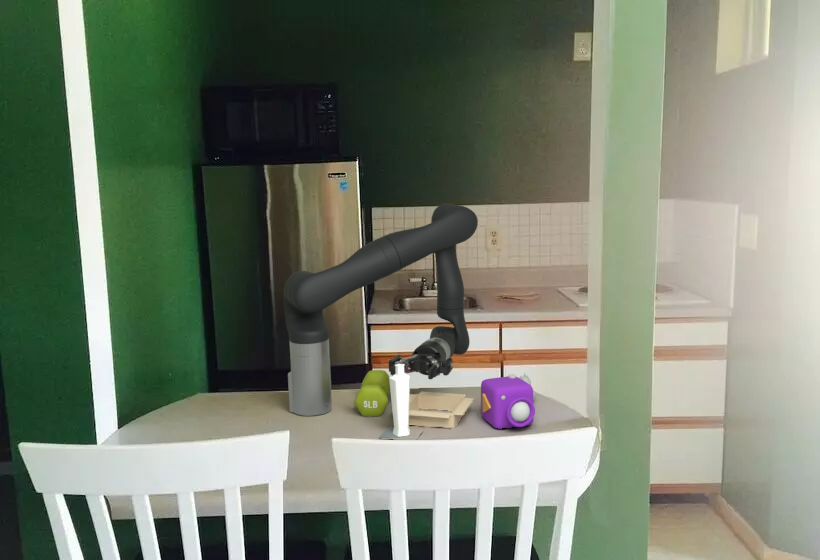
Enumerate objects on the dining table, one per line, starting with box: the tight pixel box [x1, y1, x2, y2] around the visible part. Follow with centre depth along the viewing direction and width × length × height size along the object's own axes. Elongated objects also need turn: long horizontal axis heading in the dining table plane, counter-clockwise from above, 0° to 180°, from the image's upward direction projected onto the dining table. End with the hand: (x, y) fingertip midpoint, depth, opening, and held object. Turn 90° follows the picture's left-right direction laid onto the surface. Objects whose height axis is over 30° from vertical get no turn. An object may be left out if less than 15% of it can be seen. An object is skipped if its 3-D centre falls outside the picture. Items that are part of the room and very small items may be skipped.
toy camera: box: [480, 373, 536, 430], centre depth 155 cm, size 11×14×10 cm
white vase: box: [389, 364, 411, 436], centre depth 149 cm, size 5×4×15 cm
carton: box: [409, 391, 475, 428], centre depth 160 cm, size 16×16×4 cm
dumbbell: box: [354, 369, 391, 417], centre depth 170 cm, size 16×8×7 cm, turn 176°
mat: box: [379, 426, 402, 438], centre depth 151 cm, size 8×6×1 cm
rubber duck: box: [519, 372, 537, 402], centre depth 169 cm, size 5×7×8 cm
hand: (411, 373), depth 157 cm, fingers open, 8 cm apart
